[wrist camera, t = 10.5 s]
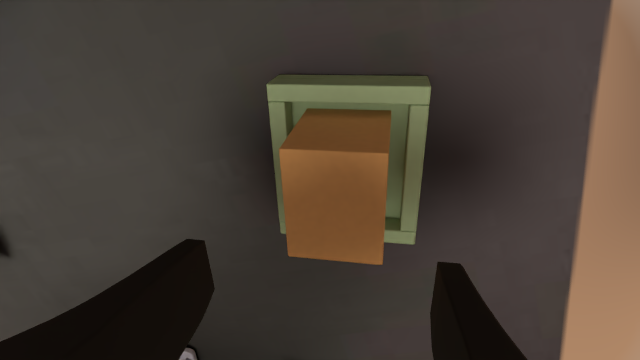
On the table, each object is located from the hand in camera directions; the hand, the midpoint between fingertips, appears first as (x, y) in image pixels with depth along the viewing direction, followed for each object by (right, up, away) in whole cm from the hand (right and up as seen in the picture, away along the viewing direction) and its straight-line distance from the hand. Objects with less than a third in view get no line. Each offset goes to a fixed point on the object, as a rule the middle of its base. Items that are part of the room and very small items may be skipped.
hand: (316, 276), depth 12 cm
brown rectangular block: (+2, +4, +7) cm, 9 cm away
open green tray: (+2, +4, +8) cm, 9 cm away
